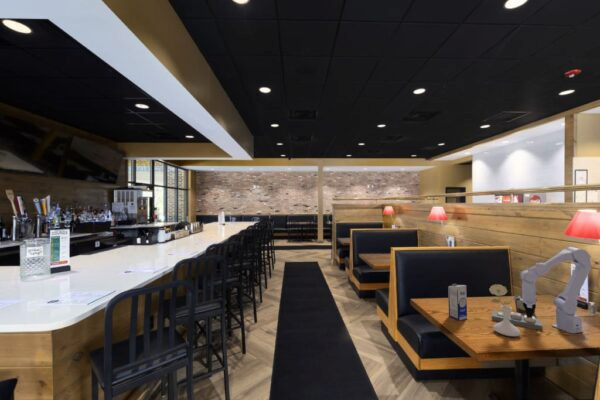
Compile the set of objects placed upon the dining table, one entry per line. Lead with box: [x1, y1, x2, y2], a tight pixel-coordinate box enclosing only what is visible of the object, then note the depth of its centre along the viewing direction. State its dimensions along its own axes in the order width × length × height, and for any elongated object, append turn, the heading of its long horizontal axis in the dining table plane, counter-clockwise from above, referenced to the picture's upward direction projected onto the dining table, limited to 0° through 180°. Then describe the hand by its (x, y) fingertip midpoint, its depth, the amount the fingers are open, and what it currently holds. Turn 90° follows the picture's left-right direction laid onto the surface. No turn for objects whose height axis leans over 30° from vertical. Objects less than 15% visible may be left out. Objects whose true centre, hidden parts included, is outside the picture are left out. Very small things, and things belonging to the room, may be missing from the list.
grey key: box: [510, 311, 522, 320], centre depth 157 cm, size 4×4×2 cm
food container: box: [513, 294, 538, 315], centre depth 170 cm, size 12×6×10 cm, turn 84°
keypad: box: [491, 309, 543, 331], centre depth 157 cm, size 22×11×2 cm, turn 51°
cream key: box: [523, 314, 536, 323], centre depth 153 cm, size 4×4×2 cm
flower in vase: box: [489, 283, 521, 337], centre depth 143 cm, size 13×11×25 cm
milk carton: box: [447, 283, 468, 322], centre depth 163 cm, size 7×7×20 cm
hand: (529, 317), depth 153 cm, fingers closed, pressing on cream key
